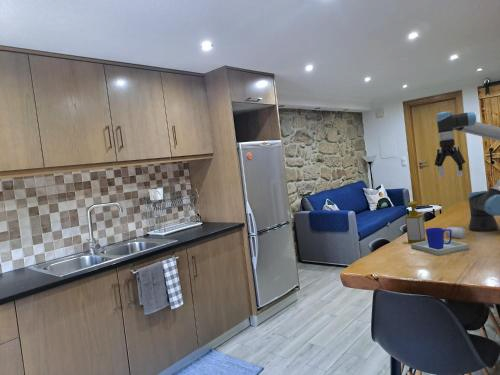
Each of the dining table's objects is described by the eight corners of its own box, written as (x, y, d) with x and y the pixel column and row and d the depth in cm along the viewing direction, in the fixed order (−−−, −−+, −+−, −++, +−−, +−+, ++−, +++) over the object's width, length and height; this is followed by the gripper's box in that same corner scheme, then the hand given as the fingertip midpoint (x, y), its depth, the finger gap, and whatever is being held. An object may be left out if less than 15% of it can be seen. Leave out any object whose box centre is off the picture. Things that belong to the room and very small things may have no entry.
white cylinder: (465, 228, 205) (452, 226, 212) (458, 227, 203) (445, 226, 210) (465, 238, 205) (452, 237, 212) (457, 238, 202) (445, 236, 210)
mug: (455, 248, 182) (453, 229, 182) (430, 250, 185) (427, 231, 184) (450, 245, 190) (448, 226, 190) (425, 247, 193) (423, 228, 193)
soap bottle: (428, 239, 212) (424, 199, 211) (421, 244, 203) (416, 202, 202) (415, 238, 217) (411, 199, 216) (408, 243, 208) (403, 202, 207)
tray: (439, 242, 200) (439, 238, 200) (469, 249, 181) (468, 244, 180) (411, 248, 196) (410, 243, 196) (438, 255, 177) (437, 250, 177)
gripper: (425, 142, 216) (429, 178, 217) (458, 137, 192) (462, 177, 193) (436, 141, 218) (440, 176, 219) (470, 136, 194) (474, 175, 194)
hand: (450, 177), depth 206 cm, fingers open, 13 cm apart
